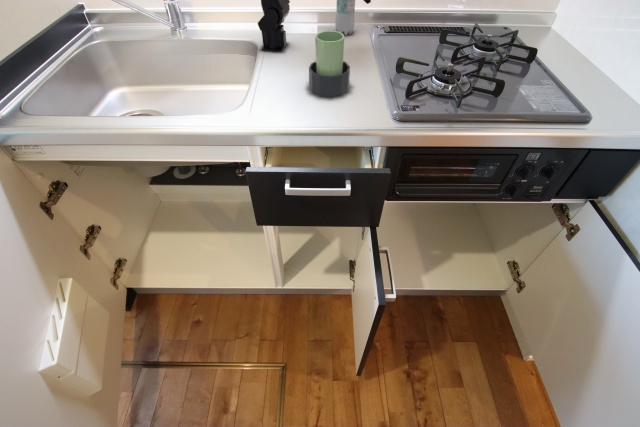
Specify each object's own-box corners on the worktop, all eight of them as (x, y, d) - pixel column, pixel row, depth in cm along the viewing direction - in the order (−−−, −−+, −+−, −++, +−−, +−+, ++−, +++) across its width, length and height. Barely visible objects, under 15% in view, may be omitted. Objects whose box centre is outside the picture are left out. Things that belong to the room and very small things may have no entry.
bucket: (306, 95, 87) (305, 74, 83) (314, 77, 94) (314, 57, 89) (345, 99, 86) (346, 78, 81) (350, 80, 92) (352, 60, 88)
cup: (313, 92, 88) (312, 40, 78) (319, 80, 92) (318, 29, 83) (339, 95, 87) (341, 43, 77) (343, 82, 91) (346, 31, 82)
